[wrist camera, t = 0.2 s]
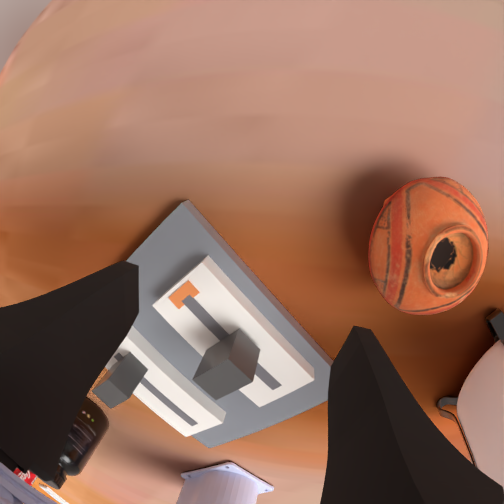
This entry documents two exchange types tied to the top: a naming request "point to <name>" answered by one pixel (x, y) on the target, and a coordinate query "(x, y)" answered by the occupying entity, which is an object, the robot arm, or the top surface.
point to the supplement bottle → (80, 442)
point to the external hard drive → (53, 494)
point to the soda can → (26, 476)
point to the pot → (428, 246)
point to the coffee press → (483, 406)
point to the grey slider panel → (209, 337)
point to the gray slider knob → (227, 365)
